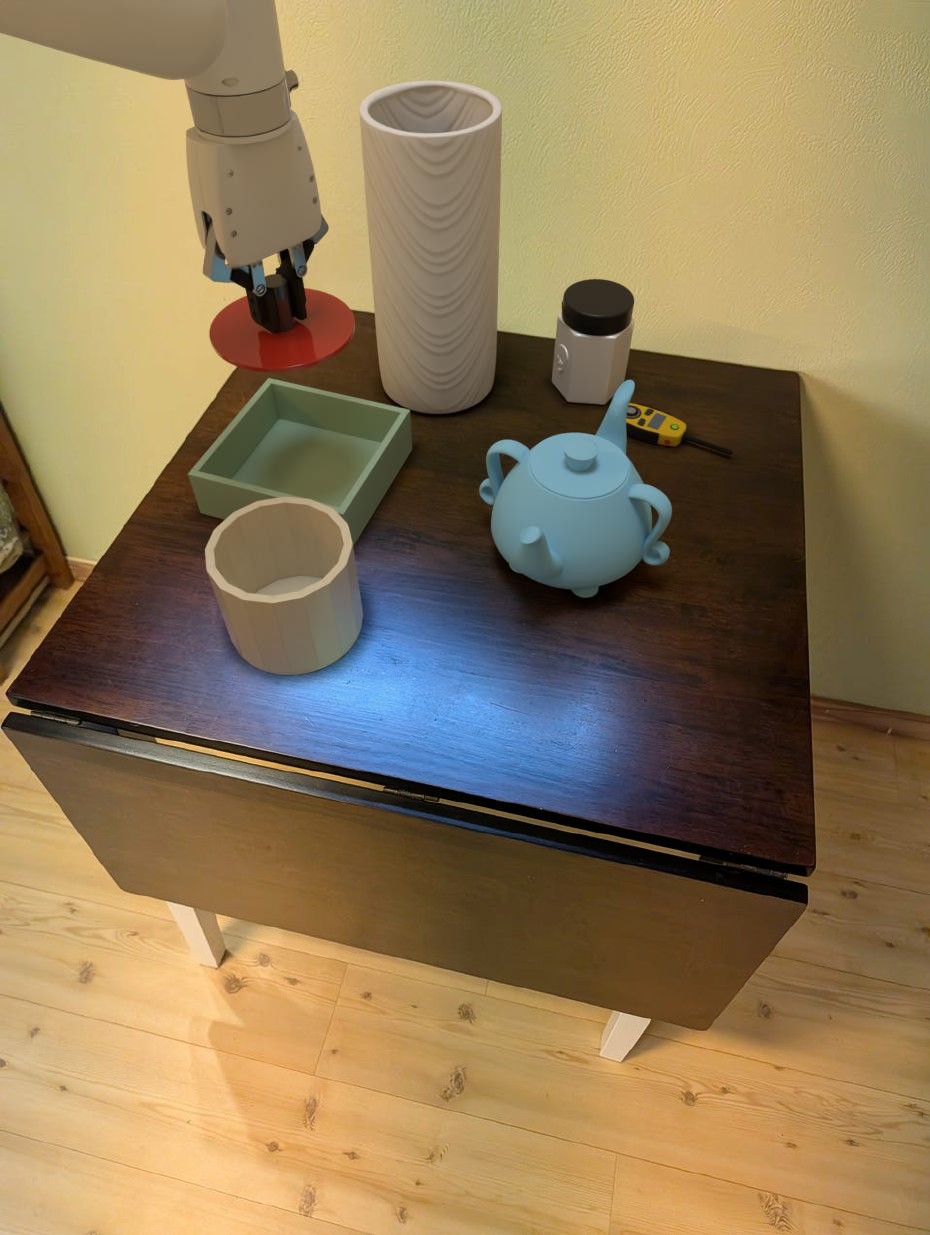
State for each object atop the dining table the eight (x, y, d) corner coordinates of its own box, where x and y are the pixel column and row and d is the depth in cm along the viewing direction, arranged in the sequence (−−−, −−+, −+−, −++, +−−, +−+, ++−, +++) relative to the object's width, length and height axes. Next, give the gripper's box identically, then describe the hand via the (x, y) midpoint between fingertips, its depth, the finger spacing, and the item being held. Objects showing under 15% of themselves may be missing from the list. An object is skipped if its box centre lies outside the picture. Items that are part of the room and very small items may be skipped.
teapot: (614, 483, 94) (633, 376, 83) (676, 615, 82) (708, 510, 71) (471, 503, 92) (472, 396, 81) (514, 642, 80) (522, 538, 69)
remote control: (621, 393, 101) (742, 433, 97) (619, 406, 103) (738, 446, 98) (604, 415, 99) (728, 457, 94) (602, 428, 100) (724, 470, 95)
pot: (237, 687, 77) (210, 614, 69) (226, 586, 84) (201, 510, 76) (373, 659, 79) (363, 585, 71) (351, 563, 86) (339, 486, 78)
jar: (541, 373, 107) (549, 285, 98) (598, 358, 109) (610, 270, 100) (574, 413, 102) (585, 324, 93) (633, 397, 104) (649, 309, 95)
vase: (399, 343, 111) (381, 73, 87) (505, 359, 109) (518, 86, 85) (365, 409, 102) (335, 128, 78) (480, 427, 100) (486, 144, 76)
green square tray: (349, 553, 87) (343, 514, 83) (200, 513, 91) (187, 473, 87) (412, 449, 98) (410, 409, 93) (276, 417, 101) (268, 377, 97)
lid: (216, 388, 75) (201, 332, 71) (207, 307, 83) (193, 253, 79) (367, 366, 77) (361, 310, 73) (343, 289, 85) (336, 235, 81)
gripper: (294, 65, 70) (323, 274, 84) (121, 120, 63) (185, 338, 77) (352, 89, 67) (372, 303, 81) (176, 151, 59) (232, 373, 74)
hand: (281, 319), depth 79 cm, fingers closed on lid, 2 cm apart
